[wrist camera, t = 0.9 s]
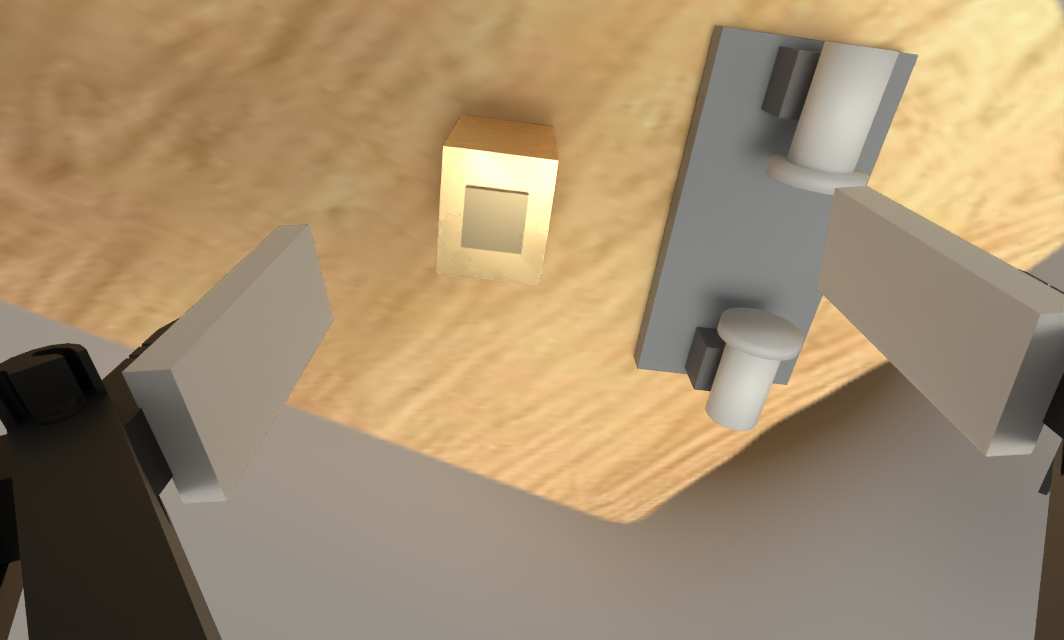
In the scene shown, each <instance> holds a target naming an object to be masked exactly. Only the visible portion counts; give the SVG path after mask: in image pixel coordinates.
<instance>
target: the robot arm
mask: <svg viewBox="0 0 1064 640" xmlns="http://www.w3.org/2000/svg"><path fill="white" fill-rule="evenodd" d="M817 289H818V290H819V291H820V292H821V293H822V294H823V295H824V296H825V297H826V298H827V299H828V300H829V301H830V302H831V303H832V304H833V305H834V306H835V307H836V308H837V309H838V310H839V311H840V312H841V313H842V314H843V315H844V316H845V317H846V318H847V319H848V320H849V321H850V322H851V323H852V324H853V325H854V326H855V327H856V328H857V329H858V330H859V331H860V332H861V333H862V334H863V335H864V336H865V337H866V338H867V339H868V340H869V341H870V342H871V343H872V344H873V345H874V346H875V347H876V348H877V349H878V350H879V351H880V352H881V353H882V354H883V355H884V356H885V357H886V358H887V359H888V360H889V361H890V362H891V363H892V364H893V365H894V366H895V367H896V368H897V369H898V370H899V371H900V372H901V373H902V374H903V375H904V376H905V377H906V378H907V379H908V380H909V381H910V382H911V383H912V384H913V385H914V386H915V387H916V388H918V390H919V391H920V392H921V393H922V394H923V395H924V396H925V397H926V398H927V399H928V400H929V401H931V403H932V404H933V405H935V407H936V408H937V409H938V410H940V412H941V413H942V414H943V415H944V416H945V417H946V418H948V420H950V421H951V422H952V424H954V425H955V426H956V427H957V429H958V430H960V432H961V433H962V434H963V435H964V436H966V437H967V438H968V439H969V440H970V441H971V442H972V443H973V444H974V445H975V446H976V447H977V448H978V449H979V450H980V451H981V452H982V453H983V454H984V455H985V456H1000V455H1019V454H1031V453H1032V450H1033V448H1034V446H1035V444H1036V441H1037V439H1038V437H1039V434H1040V432H1041V430H1042V427H1043V425H1044V424H1045V425H1047V426H1048V427H1049V428H1050V429H1051V430H1053V431H1054V432H1055V433H1056V434H1058V435H1059V436H1060V437H1061V438H1062V442H1061V444H1060V446H1059V448H1058V450H1057V453H1056V455H1055V457H1054V459H1053V461H1052V463H1051V466H1050V468H1049V470H1048V472H1047V474H1046V476H1045V478H1044V481H1043V483H1042V485H1041V487H1040V490H1039V493H1042V494H1045V495H1047V494H1048V493H1049V491H1050V499H1049V508H1048V518H1047V527H1046V536H1045V545H1044V554H1043V564H1042V574H1041V582H1040V592H1039V601H1038V610H1037V619H1036V630H1035V638H1034V640H1064V292H1062V291H1060V290H1058V289H1057V288H1055V287H1053V286H1048V284H1047V283H1046V282H1044V281H1042V280H1040V279H1038V278H1036V277H1035V276H1033V275H1031V274H1029V273H1027V272H1025V271H1022V270H1019V269H1017V268H1015V267H1013V266H1011V265H1009V264H1008V263H1006V262H1004V261H1002V260H1000V259H999V258H997V257H995V256H993V255H991V254H989V253H988V252H986V251H984V250H982V249H980V248H979V247H977V246H975V245H973V244H971V243H970V242H968V241H966V240H964V239H962V238H960V237H959V236H957V235H955V234H953V233H951V232H950V231H948V230H946V229H944V228H942V227H940V226H939V225H937V224H935V223H933V222H931V221H930V220H928V219H926V218H924V217H922V216H921V215H919V214H917V213H915V212H913V211H911V210H910V209H908V208H906V207H904V206H902V205H901V204H899V203H897V202H895V201H893V200H891V199H890V198H888V197H886V196H884V195H882V194H881V193H879V192H877V191H875V190H873V189H872V188H870V187H868V186H856V187H841V188H835V192H834V197H833V203H832V209H831V214H830V220H829V225H828V231H827V236H826V242H825V248H824V253H823V259H822V264H821V270H820V276H819V281H818V287H817ZM333 320H334V319H333V316H332V312H331V308H330V304H329V300H328V296H327V292H326V289H325V285H324V281H323V277H322V273H321V269H320V265H319V262H318V258H317V254H316V250H315V246H314V242H313V238H312V234H311V231H310V227H309V224H304V225H289V226H278V227H277V228H276V229H275V230H274V231H273V232H272V233H271V234H270V235H269V236H268V237H267V238H266V239H265V240H263V241H262V242H261V243H260V244H259V245H258V246H257V247H256V248H255V249H254V250H253V251H252V252H251V253H249V254H248V255H247V256H246V257H245V258H244V259H243V260H242V261H241V262H240V263H239V264H238V265H237V266H236V267H234V268H233V269H232V270H231V271H230V272H229V273H228V274H227V275H226V276H225V277H224V278H223V279H222V280H220V281H219V282H218V283H217V284H216V285H215V286H214V287H213V288H212V289H211V290H210V291H209V292H208V293H207V294H205V295H204V296H203V297H202V298H201V299H200V300H199V301H198V302H197V303H196V304H195V305H194V306H193V307H191V308H190V309H189V310H188V311H187V312H186V313H185V314H184V315H183V316H182V317H180V318H178V319H177V320H175V321H173V322H171V323H169V324H167V325H166V326H164V327H162V328H160V329H158V330H157V331H156V332H155V333H154V334H152V335H151V336H150V337H149V338H148V339H147V340H146V341H145V342H144V343H143V344H142V347H138V348H137V349H136V350H135V351H134V352H133V353H132V354H130V355H129V358H128V359H125V360H124V361H123V362H122V363H121V364H120V365H118V366H117V367H116V368H115V369H114V370H113V371H112V372H111V373H109V374H108V375H107V376H106V377H105V378H104V379H103V380H101V378H100V376H99V374H98V372H97V370H96V368H95V366H94V364H93V362H92V360H91V358H90V356H89V354H88V352H87V350H86V349H85V348H84V347H83V346H81V345H79V344H70V343H66V344H57V345H50V346H46V347H42V348H38V349H34V350H31V351H28V352H25V353H23V354H20V355H18V356H15V357H12V358H10V359H8V360H6V361H4V362H3V363H1V364H0V419H1V421H2V423H3V424H4V426H5V428H6V429H7V434H6V435H2V436H0V640H7V639H8V636H9V632H10V629H11V626H12V622H13V619H14V616H15V612H16V609H17V606H18V602H19V599H20V596H21V592H22V589H23V588H24V597H25V607H26V616H27V626H28V635H29V640H222V639H221V637H220V634H219V632H218V630H217V627H216V625H215V623H214V620H213V618H212V616H211V613H210V611H209V609H208V606H207V604H206V602H205V599H204V597H203V595H202V592H201V590H200V587H199V585H198V583H197V580H196V578H195V576H194V574H193V571H192V569H191V566H190V564H189V562H188V560H187V557H186V555H185V553H184V550H183V548H182V545H181V543H180V541H179V538H178V536H177V534H176V531H175V529H174V527H173V524H172V522H171V520H170V517H169V515H168V513H167V510H166V508H165V506H164V504H163V502H162V500H161V498H160V496H159V494H160V493H161V492H162V490H163V489H164V488H165V486H166V485H167V483H168V482H169V481H170V479H171V478H172V479H173V481H174V483H175V485H176V488H177V490H178V492H179V494H180V496H181V498H182V500H183V502H184V503H194V502H195V503H196V502H213V501H227V500H228V498H229V496H230V495H231V493H232V491H233V489H234V488H235V486H236V484H237V483H238V481H239V479H240V478H241V476H242V474H243V472H244V471H245V469H246V468H247V466H248V464H249V462H250V461H251V459H252V457H253V456H254V454H255V452H256V450H257V449H258V447H259V446H260V444H261V442H262V440H263V439H264V437H265V435H266V434H267V432H268V430H269V429H270V427H271V425H272V423H273V421H274V420H275V418H276V417H277V415H278V413H279V411H280V410H281V408H282V407H283V405H284V403H285V402H286V400H287V398H288V397H289V395H290V393H291V391H292V390H293V388H294V386H295V385H296V383H297V381H298V380H299V378H300V376H301V375H302V373H303V371H304V369H305V368H306V366H307V364H308V363H309V361H310V359H311V358H312V356H313V354H314V353H315V351H316V349H317V347H318V346H319V344H320V342H321V341H322V339H323V337H324V336H325V334H326V332H327V331H328V329H329V327H330V326H331V324H332V322H333Z"/></svg>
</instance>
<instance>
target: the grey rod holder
mask: <svg viewBox="0 0 1064 640" xmlns="http://www.w3.org/2000/svg"><path fill="white" fill-rule="evenodd" d="M917 57H918V55H916V54H909V53H902V52H898V51H891V50H885V49H878V48H871V47H864V46H857V45H850V44H843V43H836V42H829V41H819V40H812V39H805V38H799V37H792V36H785V35H778V34H771V33H764V32H757V31H750V30H743V29H737V28H730V27H723V26H715V28H714V32H713V36H712V40H711V44H710V48H709V52H708V57H707V61H706V65H705V69H704V73H703V77H702V81H701V85H700V89H699V93H698V97H697V101H696V105H695V110H694V114H693V118H692V122H691V126H690V130H689V134H688V138H687V142H686V146H685V150H684V154H683V158H682V163H681V167H680V171H679V175H678V179H677V183H676V187H675V191H674V195H673V199H672V203H671V207H670V212H669V216H668V220H667V224H666V228H665V232H664V236H663V240H662V244H661V248H660V252H659V256H658V260H657V265H656V269H655V273H654V277H653V281H652V285H651V289H650V293H649V297H648V301H647V305H646V309H645V313H644V318H643V322H642V326H641V330H640V334H639V338H638V342H637V346H636V350H635V354H634V358H635V362H636V365H637V369H646V370H655V371H664V372H673V373H682V374H688V376H689V379H690V381H691V383H692V386H693V388H694V389H695V390H704V391H710V394H709V397H708V400H707V403H706V407H705V410H706V412H707V414H708V416H709V417H710V418H711V419H712V420H713V421H715V422H716V423H718V424H720V425H721V426H724V427H726V428H729V429H733V430H738V431H746V430H751V429H753V428H754V427H755V426H756V424H757V422H758V419H759V416H760V414H761V411H762V409H763V406H764V403H765V401H766V398H767V395H768V393H769V390H770V388H771V385H772V383H774V384H783V385H787V383H788V381H789V378H790V376H791V373H792V371H793V368H794V366H795V363H796V361H797V358H798V356H799V353H800V351H801V348H802V346H803V343H804V341H805V338H806V336H807V333H808V331H809V328H810V326H811V323H812V321H813V318H814V316H815V313H816V311H817V308H818V306H819V303H820V301H821V298H822V296H823V294H822V293H821V292H820V291H819V290H818V289H817V287H818V281H819V276H820V270H821V264H822V259H823V253H824V248H825V242H826V236H827V231H828V225H829V220H830V214H831V209H832V203H833V197H834V192H835V188H841V187H856V186H866V185H867V183H868V180H869V178H870V175H871V173H872V170H873V168H874V165H875V163H876V160H877V158H878V155H879V153H880V150H881V148H882V145H883V143H884V140H885V138H886V135H887V133H888V130H889V128H890V125H891V123H892V120H893V118H894V115H895V113H896V110H897V108H898V105H899V103H900V100H901V98H902V95H903V93H904V90H905V88H906V85H907V82H908V80H909V77H910V75H911V72H912V70H913V67H914V65H915V62H916V60H917Z"/></svg>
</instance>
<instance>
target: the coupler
mask: <svg viewBox="0 0 1064 640" xmlns="http://www.w3.org/2000/svg"><path fill="white" fill-rule="evenodd" d="M558 161H559V160H558V154H557V148H556V142H555V136H554V130H553V127H552V126H545V125H537V124H530V123H522V122H514V121H507V120H499V119H492V118H484V117H477V116H469V115H462V116H461V118H460V119H459V121H458V123H457V124H456V126H455V127H454V129H453V131H452V132H451V134H450V135H449V137H448V139H447V140H446V142H445V143H444V145H443V156H442V174H441V192H440V210H439V228H438V245H437V263H436V274H445V275H453V276H462V277H471V278H479V279H488V280H496V281H505V282H514V283H522V284H531V285H539V286H540V283H541V276H542V270H543V263H544V256H545V249H546V243H547V236H548V229H549V222H550V216H551V209H552V202H553V195H554V188H555V182H556V175H557V168H558Z"/></svg>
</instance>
